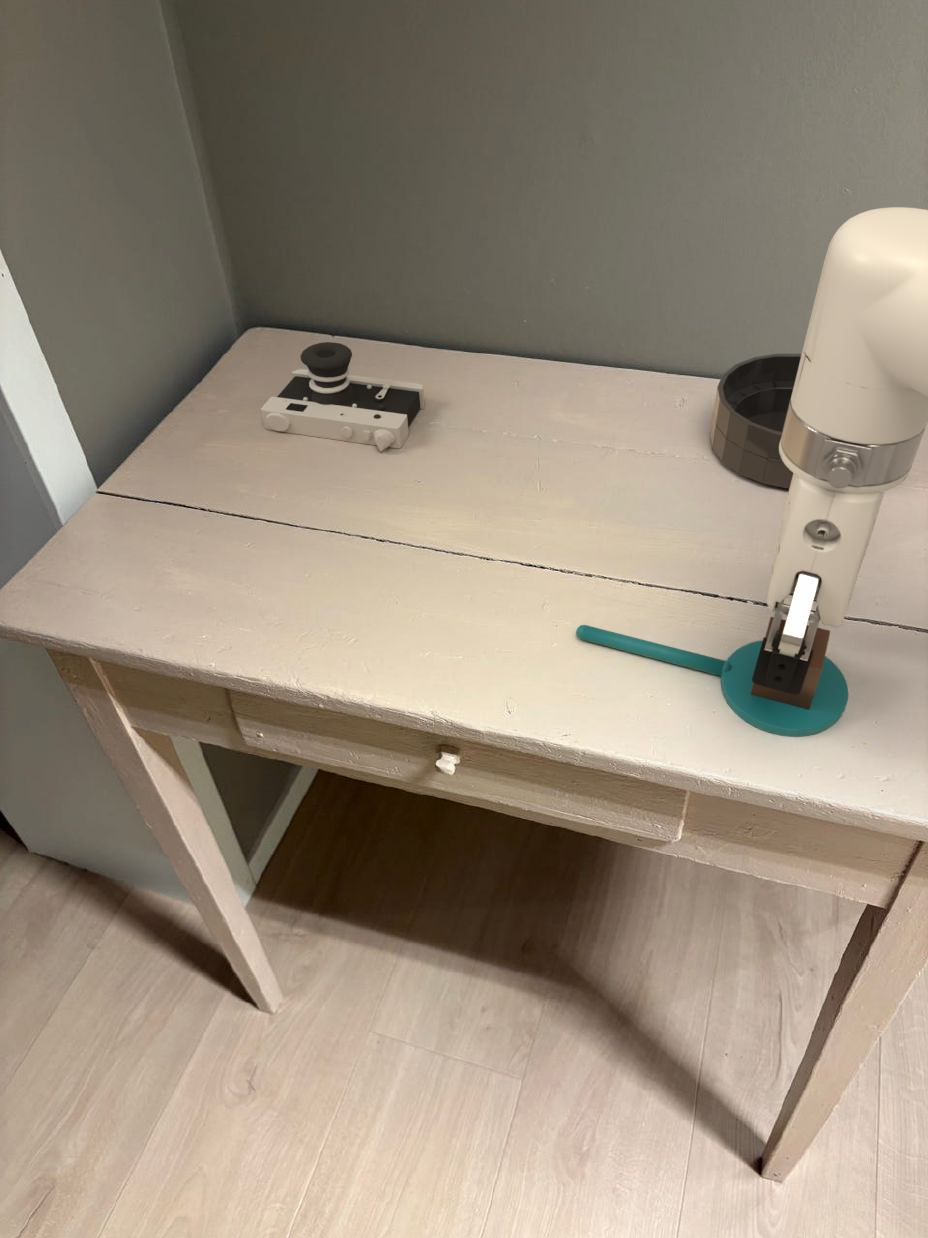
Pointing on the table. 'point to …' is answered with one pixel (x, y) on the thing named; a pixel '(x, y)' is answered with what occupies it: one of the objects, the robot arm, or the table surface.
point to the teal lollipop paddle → (744, 684)
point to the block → (811, 677)
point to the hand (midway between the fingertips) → (788, 638)
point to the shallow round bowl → (755, 417)
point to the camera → (343, 402)
